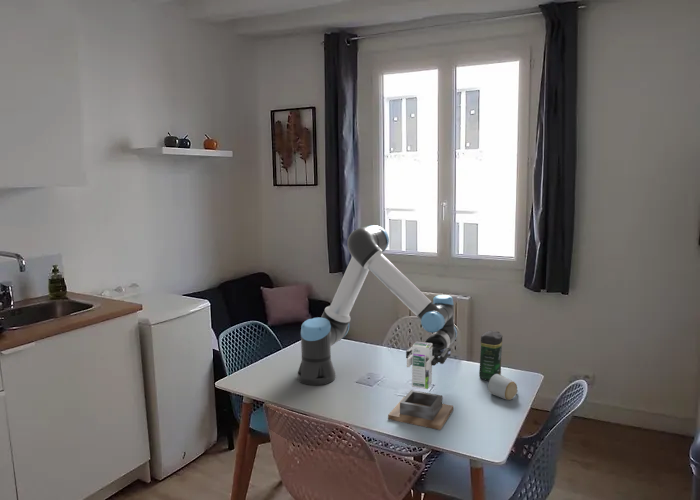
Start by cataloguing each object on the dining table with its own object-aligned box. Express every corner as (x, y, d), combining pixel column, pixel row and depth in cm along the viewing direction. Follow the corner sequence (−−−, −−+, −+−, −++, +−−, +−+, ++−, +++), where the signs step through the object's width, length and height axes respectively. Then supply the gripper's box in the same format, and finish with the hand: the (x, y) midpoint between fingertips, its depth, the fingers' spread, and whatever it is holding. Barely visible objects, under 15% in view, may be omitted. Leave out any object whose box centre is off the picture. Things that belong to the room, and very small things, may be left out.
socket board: (388, 419, 178) (388, 403, 177) (404, 400, 192) (404, 385, 192) (440, 429, 170) (440, 413, 170) (453, 409, 185) (453, 394, 184)
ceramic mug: (506, 403, 189) (507, 382, 188) (487, 395, 196) (488, 376, 195) (523, 396, 196) (524, 376, 195) (504, 389, 202) (505, 369, 201)
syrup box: (411, 387, 178) (411, 345, 176) (415, 380, 184) (416, 340, 181) (428, 389, 176) (428, 347, 174) (432, 383, 181) (432, 342, 179)
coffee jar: (497, 383, 207) (498, 337, 205) (477, 379, 211) (478, 334, 208) (503, 374, 216) (504, 330, 213) (483, 371, 219) (485, 327, 217)
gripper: (462, 357, 191) (445, 380, 170) (412, 350, 199) (390, 371, 178) (463, 337, 190) (445, 358, 169) (412, 330, 198) (390, 349, 177)
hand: (417, 364), depth 174 cm, fingers closed on syrup box, 6 cm apart
